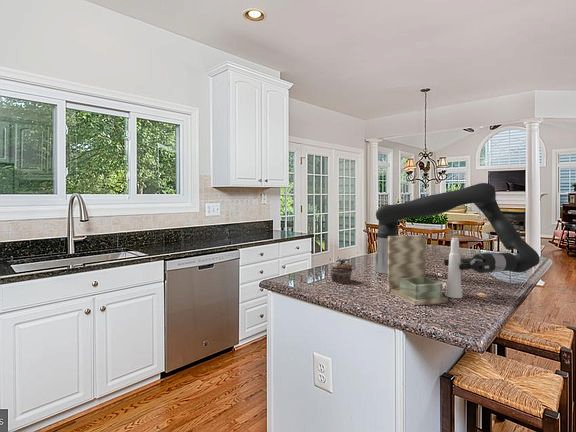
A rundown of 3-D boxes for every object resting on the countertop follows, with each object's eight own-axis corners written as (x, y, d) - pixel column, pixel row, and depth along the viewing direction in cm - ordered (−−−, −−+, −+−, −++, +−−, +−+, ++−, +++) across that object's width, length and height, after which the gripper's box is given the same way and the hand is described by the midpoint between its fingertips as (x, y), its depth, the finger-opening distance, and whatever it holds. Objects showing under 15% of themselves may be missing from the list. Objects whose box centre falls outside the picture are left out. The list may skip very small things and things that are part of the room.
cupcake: (346, 277, 165) (346, 256, 165) (355, 282, 156) (355, 260, 155) (326, 279, 163) (326, 257, 162) (334, 284, 154) (334, 261, 153)
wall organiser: (413, 305, 124) (414, 242, 123) (387, 291, 142) (387, 236, 140) (453, 302, 127) (454, 240, 126) (423, 289, 145) (424, 234, 144)
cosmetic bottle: (451, 293, 139) (452, 236, 138) (466, 296, 134) (467, 238, 133) (441, 295, 136) (442, 237, 135) (456, 299, 131) (457, 239, 129)
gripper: (475, 250, 144) (440, 251, 141) (504, 256, 130) (465, 258, 127) (475, 268, 145) (439, 270, 141) (503, 276, 131) (465, 278, 127)
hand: (452, 264), depth 134 cm, fingers open, 8 cm apart
